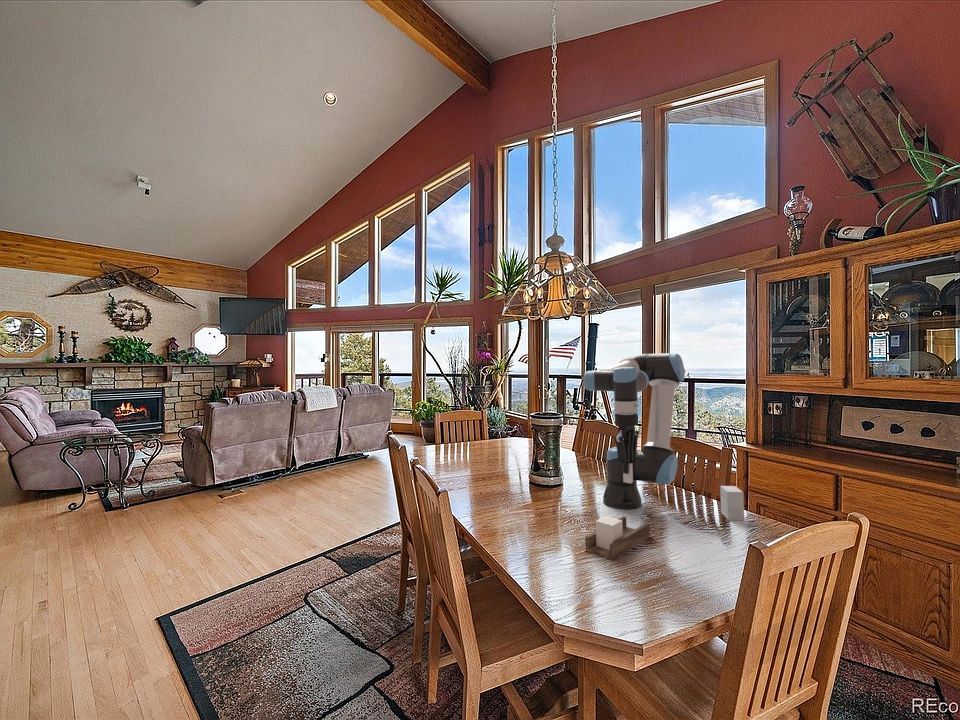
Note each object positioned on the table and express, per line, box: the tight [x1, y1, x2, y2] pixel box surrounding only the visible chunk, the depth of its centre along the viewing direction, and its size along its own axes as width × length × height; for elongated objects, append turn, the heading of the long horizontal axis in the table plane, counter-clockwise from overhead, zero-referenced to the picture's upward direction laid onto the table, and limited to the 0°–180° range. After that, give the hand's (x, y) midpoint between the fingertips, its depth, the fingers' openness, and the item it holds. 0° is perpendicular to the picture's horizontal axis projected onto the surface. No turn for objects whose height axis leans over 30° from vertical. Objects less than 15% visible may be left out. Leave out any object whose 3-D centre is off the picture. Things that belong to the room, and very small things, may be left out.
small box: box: [719, 485, 745, 521], centre depth 168 cm, size 8×6×10 cm
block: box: [595, 515, 623, 550], centre depth 143 cm, size 6×6×8 cm
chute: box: [584, 515, 651, 561], centre depth 147 cm, size 10×24×4 cm, turn 134°
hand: (628, 482), depth 152 cm, fingers closed
